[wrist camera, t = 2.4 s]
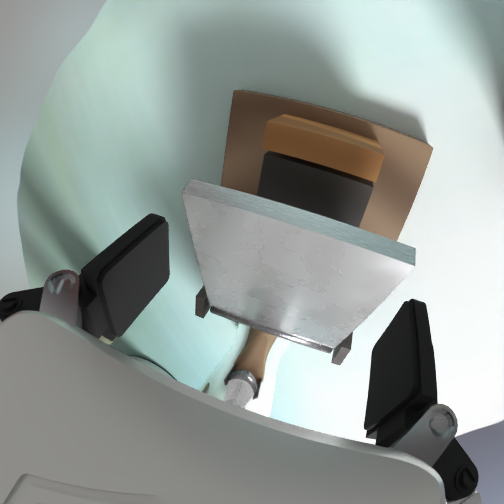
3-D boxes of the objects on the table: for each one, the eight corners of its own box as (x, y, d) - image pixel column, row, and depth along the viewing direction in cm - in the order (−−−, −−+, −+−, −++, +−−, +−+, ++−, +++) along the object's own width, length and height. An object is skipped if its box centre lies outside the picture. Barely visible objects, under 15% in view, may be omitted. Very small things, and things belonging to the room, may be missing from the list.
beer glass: (226, 309, 32) (159, 424, 20) (286, 307, 29) (232, 444, 17) (247, 351, 35) (197, 456, 23) (301, 352, 32) (261, 472, 20)
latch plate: (345, 327, 28) (339, 373, 23) (216, 283, 30) (190, 321, 25) (428, 143, 17) (452, 164, 12) (241, 89, 19) (205, 93, 14)
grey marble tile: (333, 339, 24) (328, 355, 23) (217, 299, 26) (210, 314, 25) (415, 243, 12) (414, 272, 11) (194, 174, 14) (178, 196, 13)
